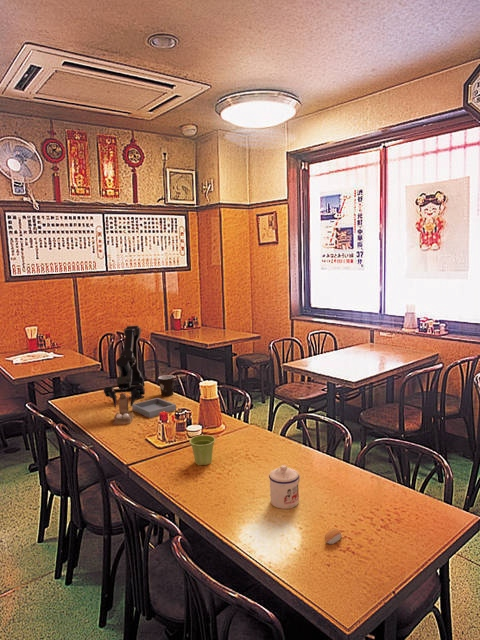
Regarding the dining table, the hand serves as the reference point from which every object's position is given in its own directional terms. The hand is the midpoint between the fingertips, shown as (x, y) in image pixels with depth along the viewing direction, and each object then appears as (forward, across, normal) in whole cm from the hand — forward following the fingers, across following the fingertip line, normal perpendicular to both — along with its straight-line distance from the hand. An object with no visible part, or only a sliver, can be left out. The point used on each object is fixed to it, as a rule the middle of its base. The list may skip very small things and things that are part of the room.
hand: (123, 406), depth 228 cm
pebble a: (+5, -2, +1) cm, 5 cm away
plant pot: (+42, +39, -32) cm, 65 cm away
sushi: (+79, +75, -69) cm, 129 cm away
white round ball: (+5, +2, +1) cm, 5 cm away
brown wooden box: (+6, 0, +4) cm, 7 cm away
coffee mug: (-21, +17, +30) cm, 41 cm away
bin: (-4, +13, +13) cm, 19 cm away
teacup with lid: (+64, +66, -54) cm, 106 cm away
